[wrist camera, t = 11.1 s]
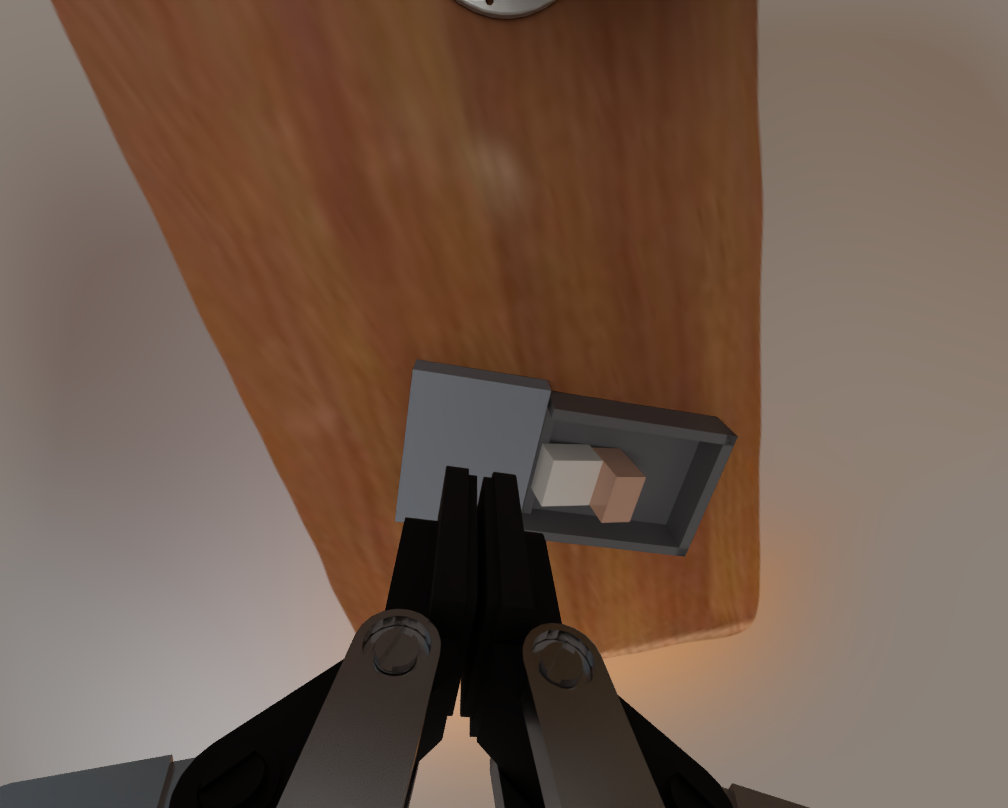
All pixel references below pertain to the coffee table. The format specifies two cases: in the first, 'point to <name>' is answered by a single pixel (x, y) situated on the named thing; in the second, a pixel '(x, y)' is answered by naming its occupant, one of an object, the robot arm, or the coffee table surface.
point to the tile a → (566, 474)
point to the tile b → (616, 486)
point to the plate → (467, 431)
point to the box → (655, 452)
